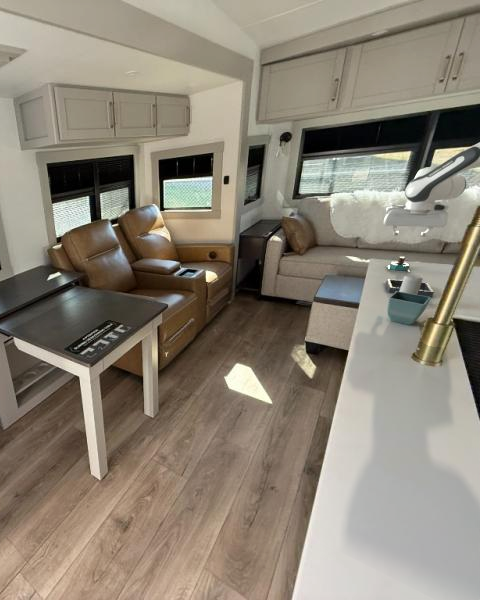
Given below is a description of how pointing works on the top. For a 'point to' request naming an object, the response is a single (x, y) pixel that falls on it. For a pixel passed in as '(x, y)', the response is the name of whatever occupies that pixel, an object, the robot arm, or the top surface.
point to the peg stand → (400, 263)
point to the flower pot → (406, 307)
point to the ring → (399, 266)
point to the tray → (396, 284)
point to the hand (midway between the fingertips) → (408, 235)
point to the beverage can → (411, 284)
